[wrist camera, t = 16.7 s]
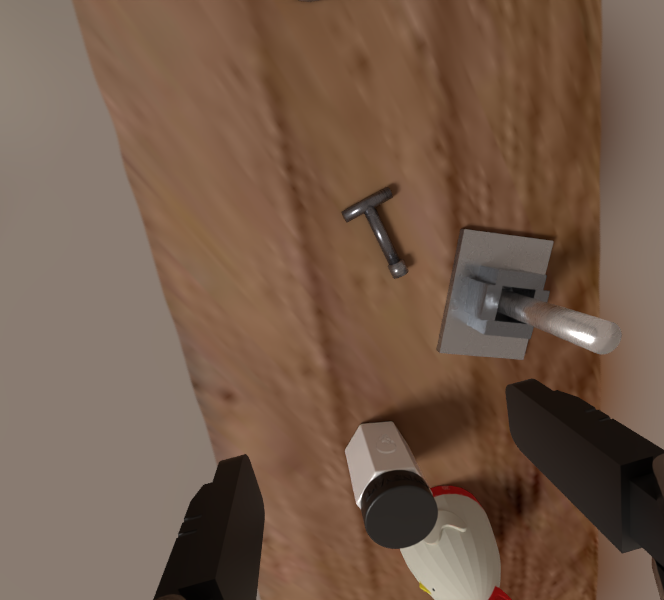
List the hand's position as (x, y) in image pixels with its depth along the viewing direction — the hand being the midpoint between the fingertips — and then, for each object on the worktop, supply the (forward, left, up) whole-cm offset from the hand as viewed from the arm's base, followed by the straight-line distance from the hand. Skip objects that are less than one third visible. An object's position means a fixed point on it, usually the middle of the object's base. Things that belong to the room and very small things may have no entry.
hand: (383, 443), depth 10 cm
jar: (+23, +11, -32) cm, 41 cm away
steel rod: (0, +23, -31) cm, 39 cm away
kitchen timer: (+36, +23, -32) cm, 54 cm away
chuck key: (-6, +7, -32) cm, 33 cm away
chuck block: (0, +23, -32) cm, 39 cm away
